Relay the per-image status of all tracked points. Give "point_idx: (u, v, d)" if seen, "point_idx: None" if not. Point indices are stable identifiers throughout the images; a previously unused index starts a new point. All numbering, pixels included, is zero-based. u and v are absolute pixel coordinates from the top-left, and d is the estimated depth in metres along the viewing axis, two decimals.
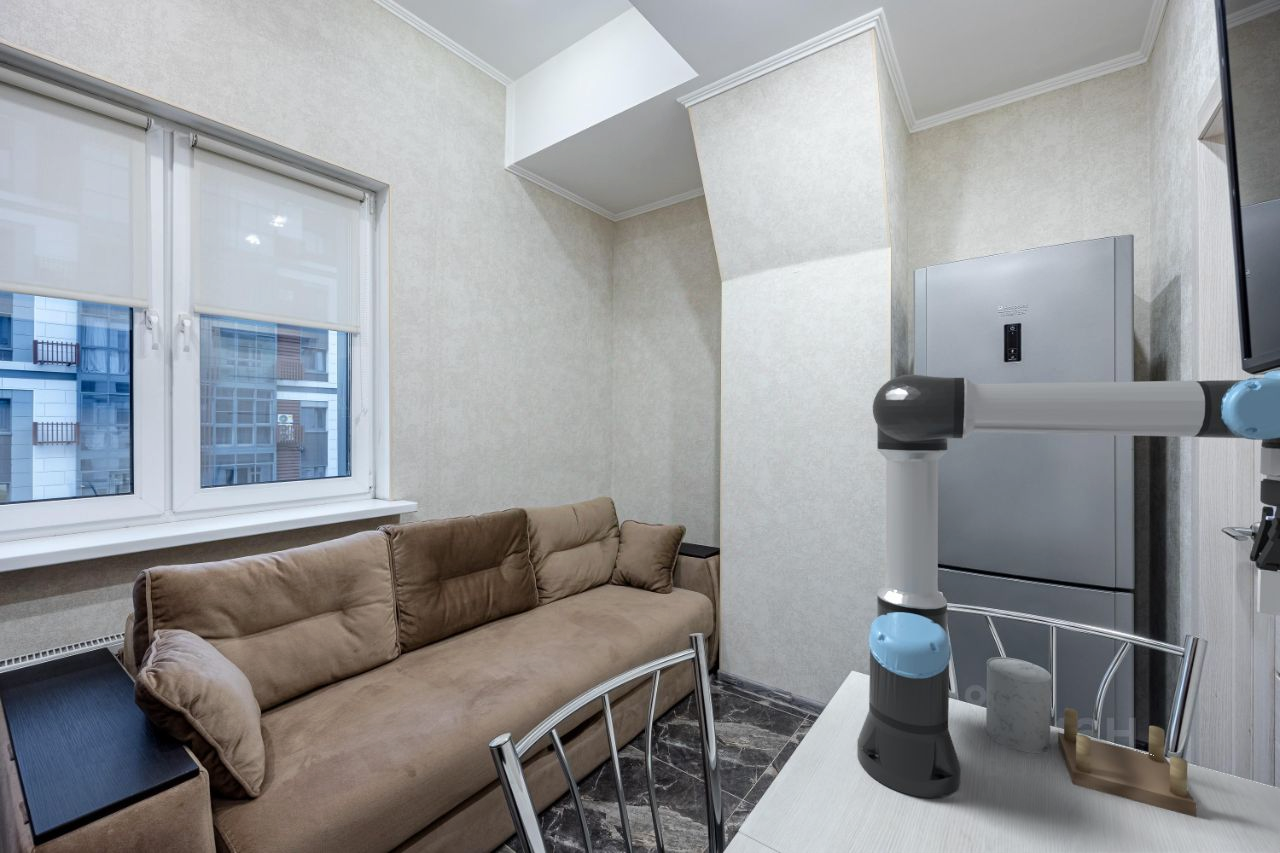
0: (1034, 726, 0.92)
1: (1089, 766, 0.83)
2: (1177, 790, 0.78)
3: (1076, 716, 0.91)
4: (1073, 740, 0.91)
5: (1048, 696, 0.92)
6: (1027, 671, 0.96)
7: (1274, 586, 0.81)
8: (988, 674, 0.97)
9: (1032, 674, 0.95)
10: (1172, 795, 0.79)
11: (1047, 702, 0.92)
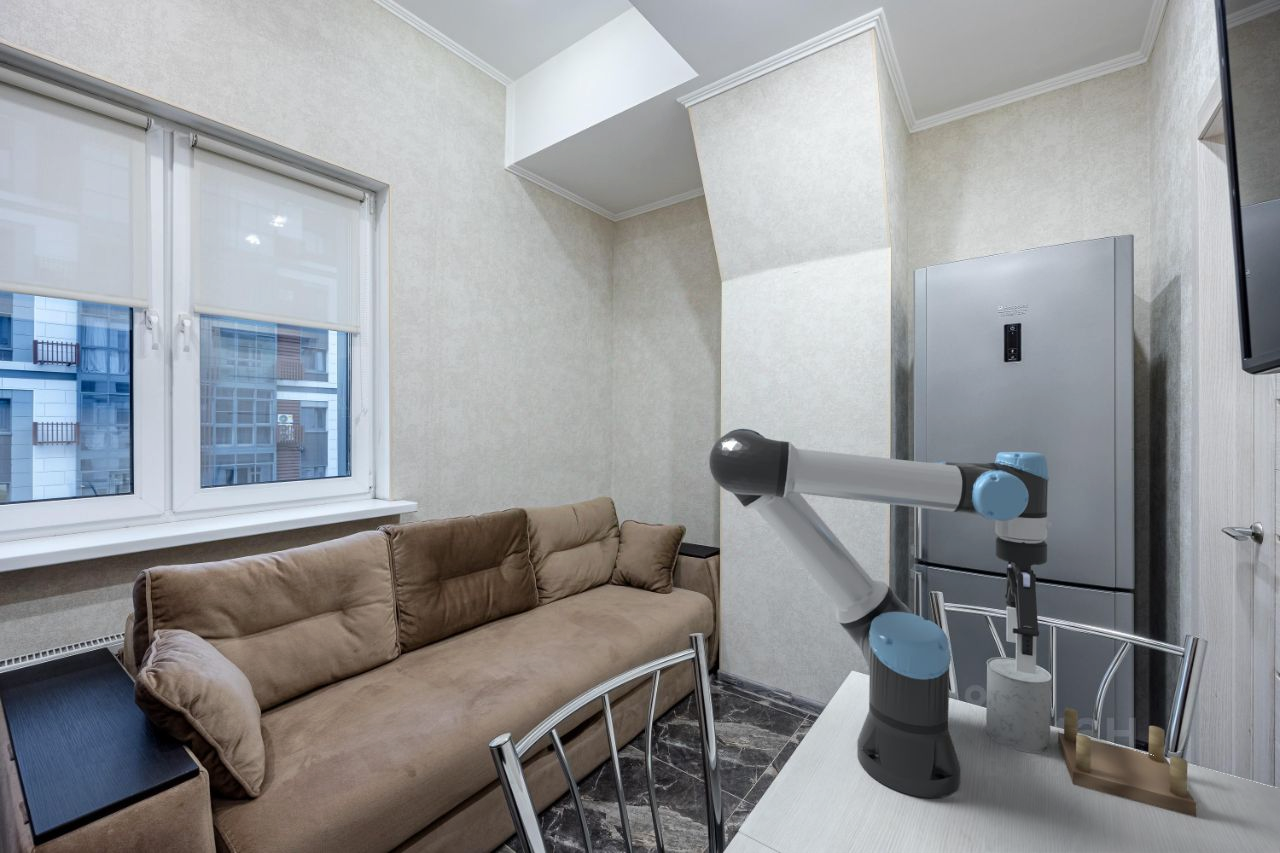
0: (1035, 726, 0.92)
1: (1089, 766, 0.83)
2: (1177, 790, 0.78)
3: (1076, 716, 0.91)
4: (1073, 740, 0.91)
5: (1048, 696, 0.92)
6: None
7: (1016, 620, 1.01)
8: (988, 674, 0.97)
9: (1032, 674, 0.94)
10: (1172, 795, 0.79)
11: (1047, 702, 0.92)
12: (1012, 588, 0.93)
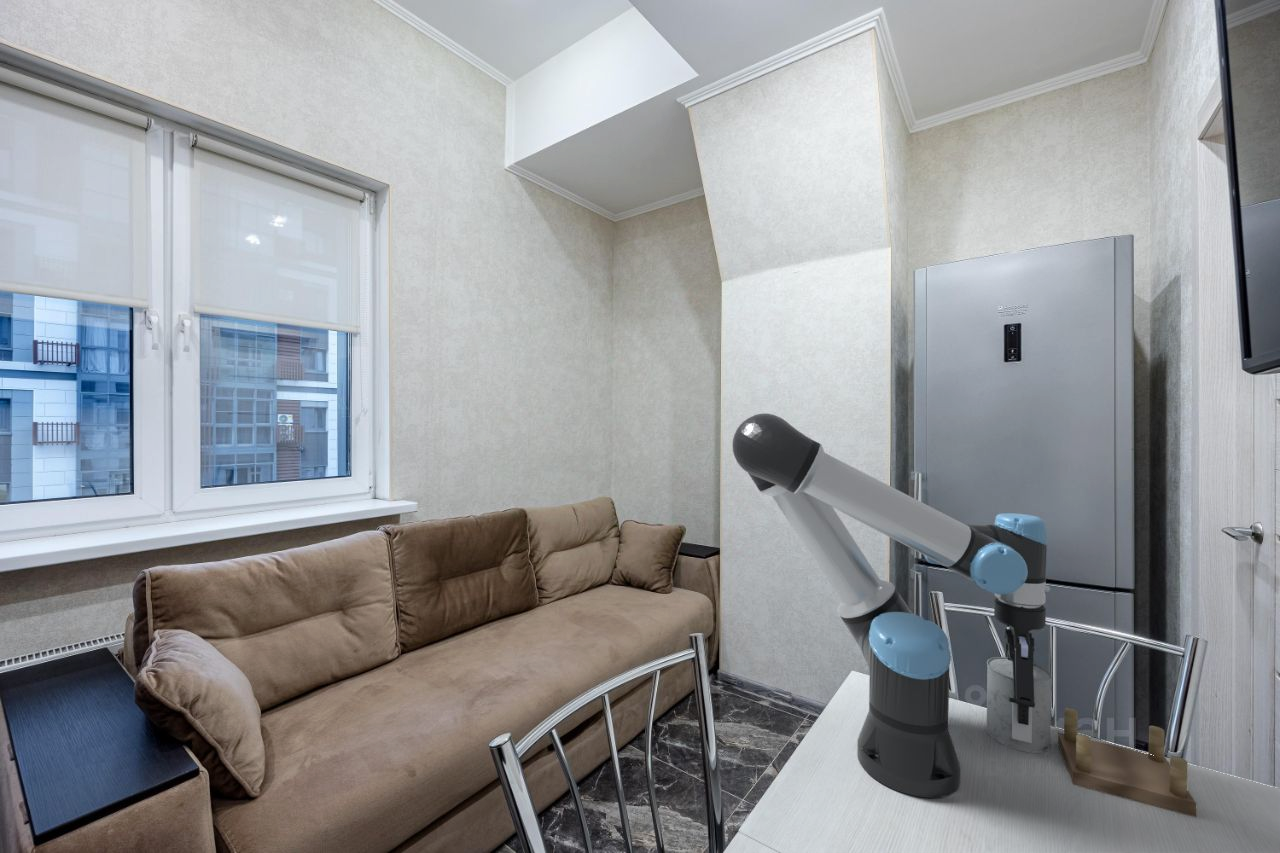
0: (1035, 726, 0.92)
1: (1089, 766, 0.83)
2: (1177, 790, 0.78)
3: (1076, 716, 0.91)
4: (1073, 740, 0.91)
5: (1048, 696, 0.92)
6: None
7: None
8: (988, 674, 0.97)
9: None
10: (1172, 795, 0.79)
11: (1048, 702, 0.92)
12: (1010, 653, 0.94)
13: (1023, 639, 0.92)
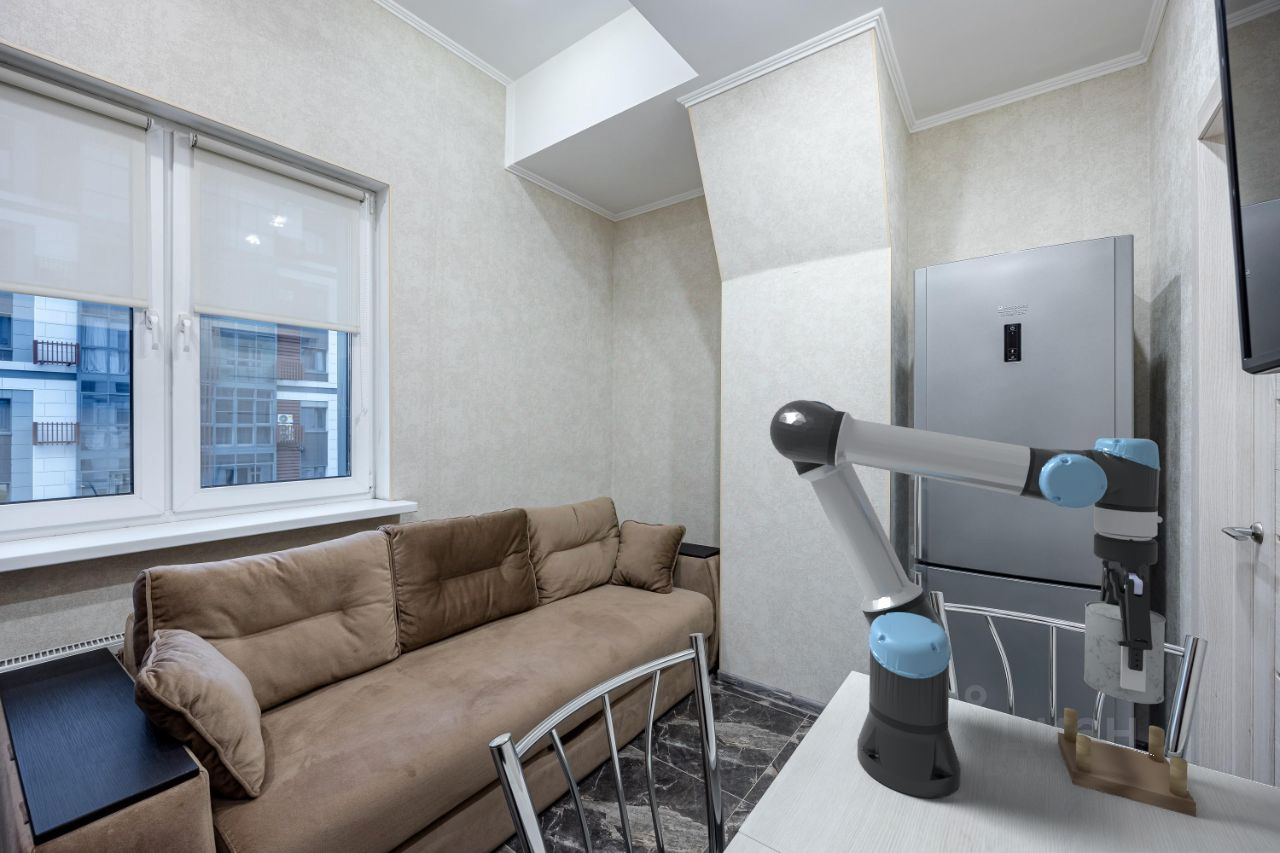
0: (1148, 673, 0.81)
1: (1089, 766, 0.83)
2: (1177, 790, 0.78)
3: (1076, 716, 0.91)
4: (1073, 740, 0.91)
5: (1163, 640, 0.81)
6: None
7: None
8: (1088, 618, 0.87)
9: None
10: (1172, 795, 0.79)
11: (1162, 646, 0.81)
12: (1116, 593, 0.83)
13: (1133, 575, 0.81)
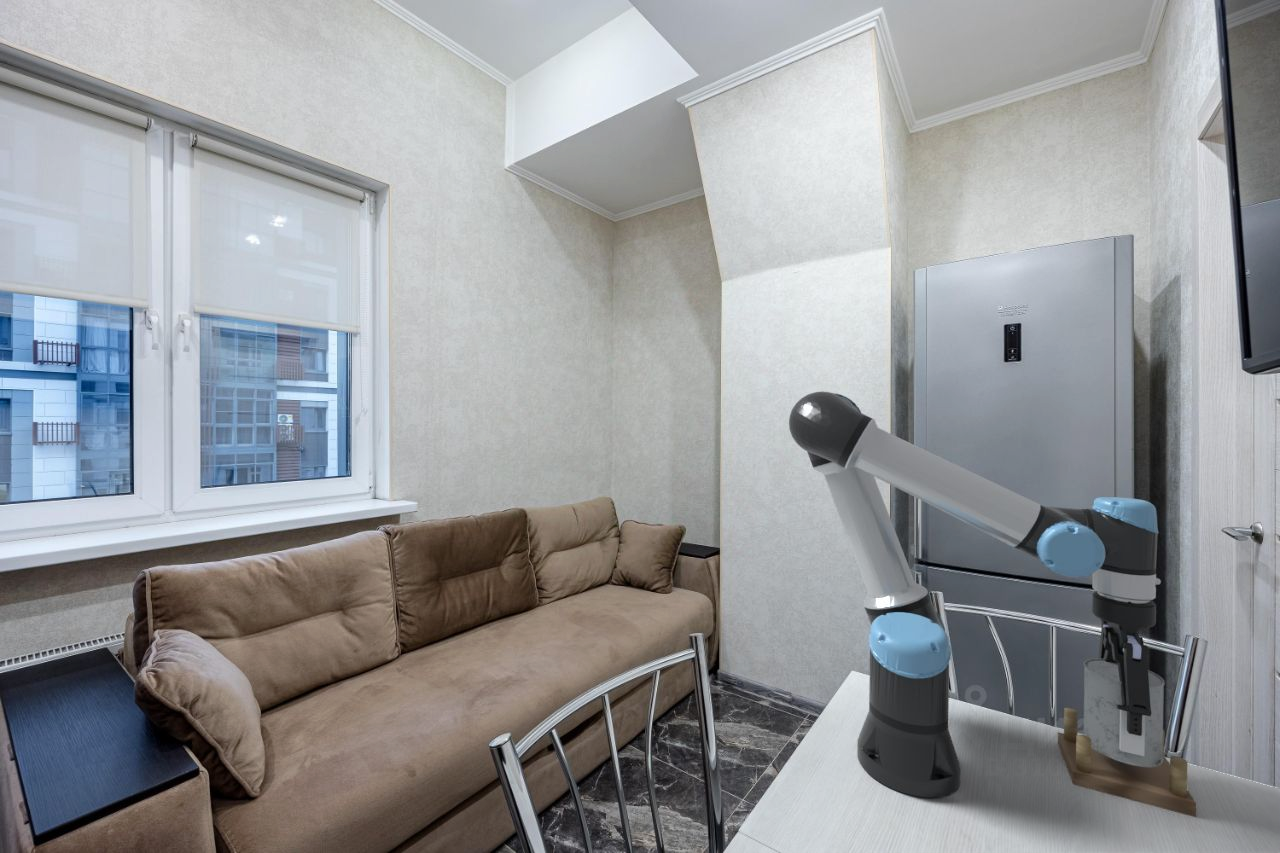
0: (1147, 736, 0.81)
1: (1089, 766, 0.83)
2: (1177, 790, 0.78)
3: (1076, 716, 0.91)
4: (1073, 740, 0.91)
5: (1162, 703, 0.81)
6: None
7: None
8: (1087, 678, 0.87)
9: None
10: (1172, 795, 0.79)
11: (1161, 710, 0.81)
12: (1115, 655, 0.83)
13: (1132, 638, 0.82)
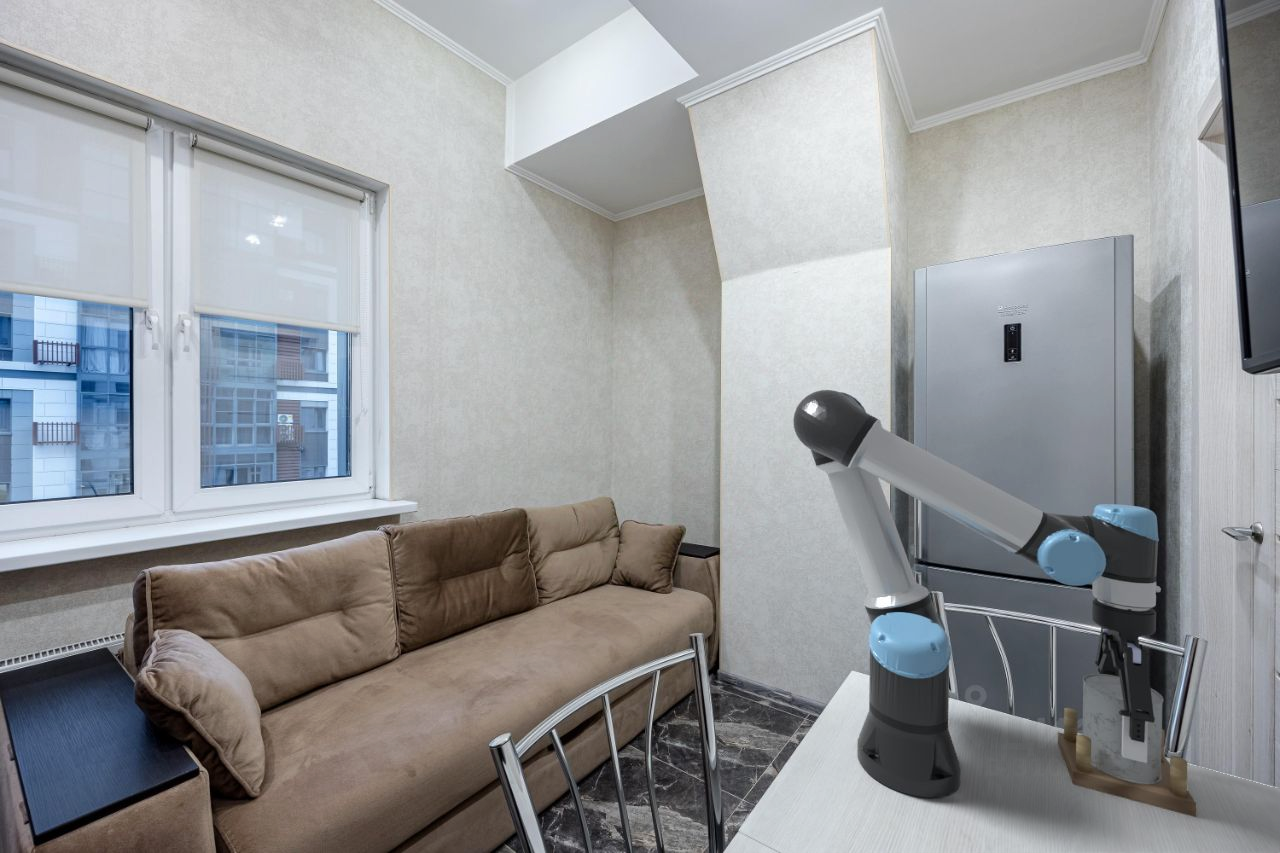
0: None
1: (1089, 766, 0.83)
2: (1177, 790, 0.78)
3: (1076, 716, 0.91)
4: (1073, 740, 0.91)
5: (1160, 720, 0.81)
6: None
7: None
8: (1086, 694, 0.87)
9: None
10: (1172, 795, 0.79)
11: (1160, 727, 0.81)
12: (1115, 661, 0.83)
13: (1132, 645, 0.82)
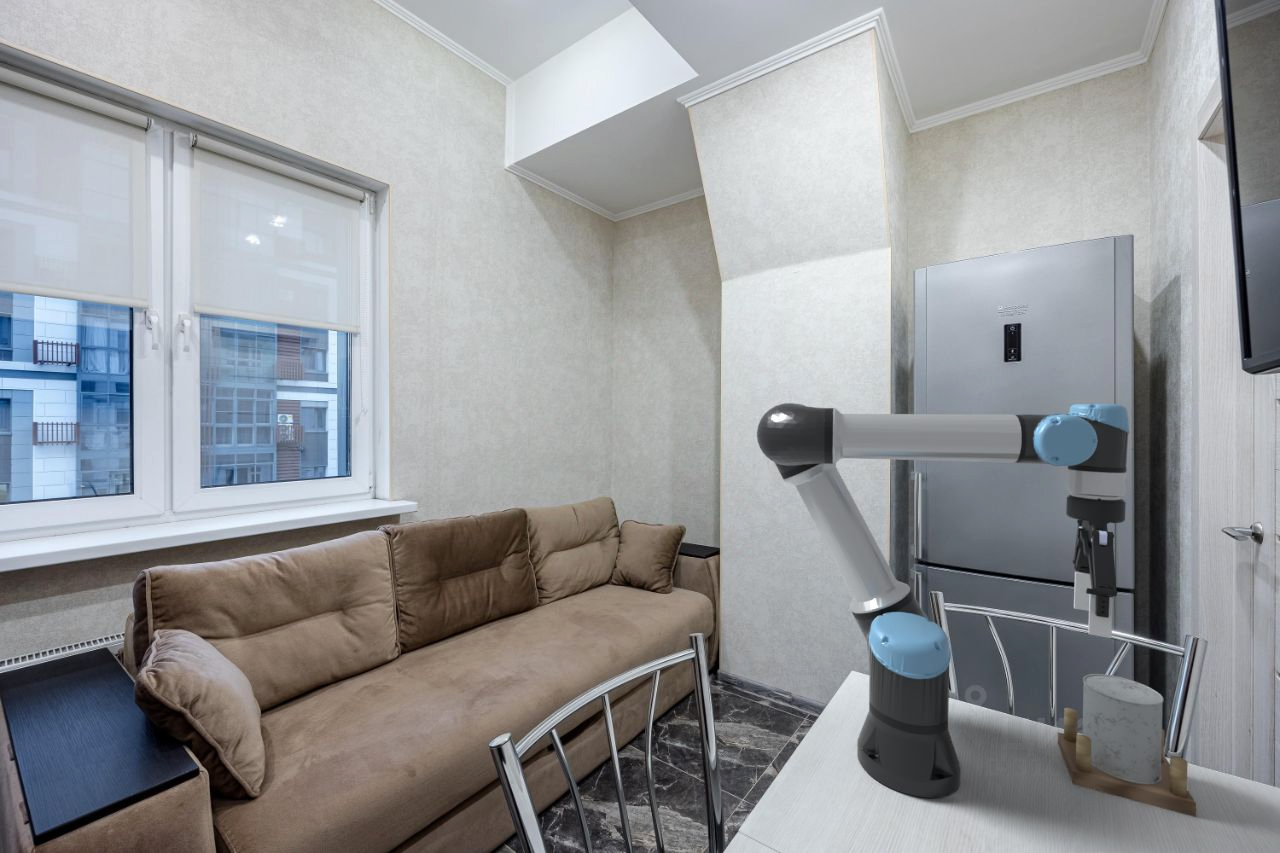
0: (1146, 754, 0.81)
1: (1089, 766, 0.83)
2: (1177, 790, 0.78)
3: (1076, 716, 0.91)
4: (1073, 740, 0.91)
5: (1160, 720, 0.81)
6: (1132, 690, 0.85)
7: (1086, 586, 0.95)
8: (1086, 694, 0.87)
9: (1139, 694, 0.84)
10: (1172, 795, 0.79)
11: (1160, 727, 0.81)
12: (1085, 548, 0.88)
13: (1100, 531, 0.86)
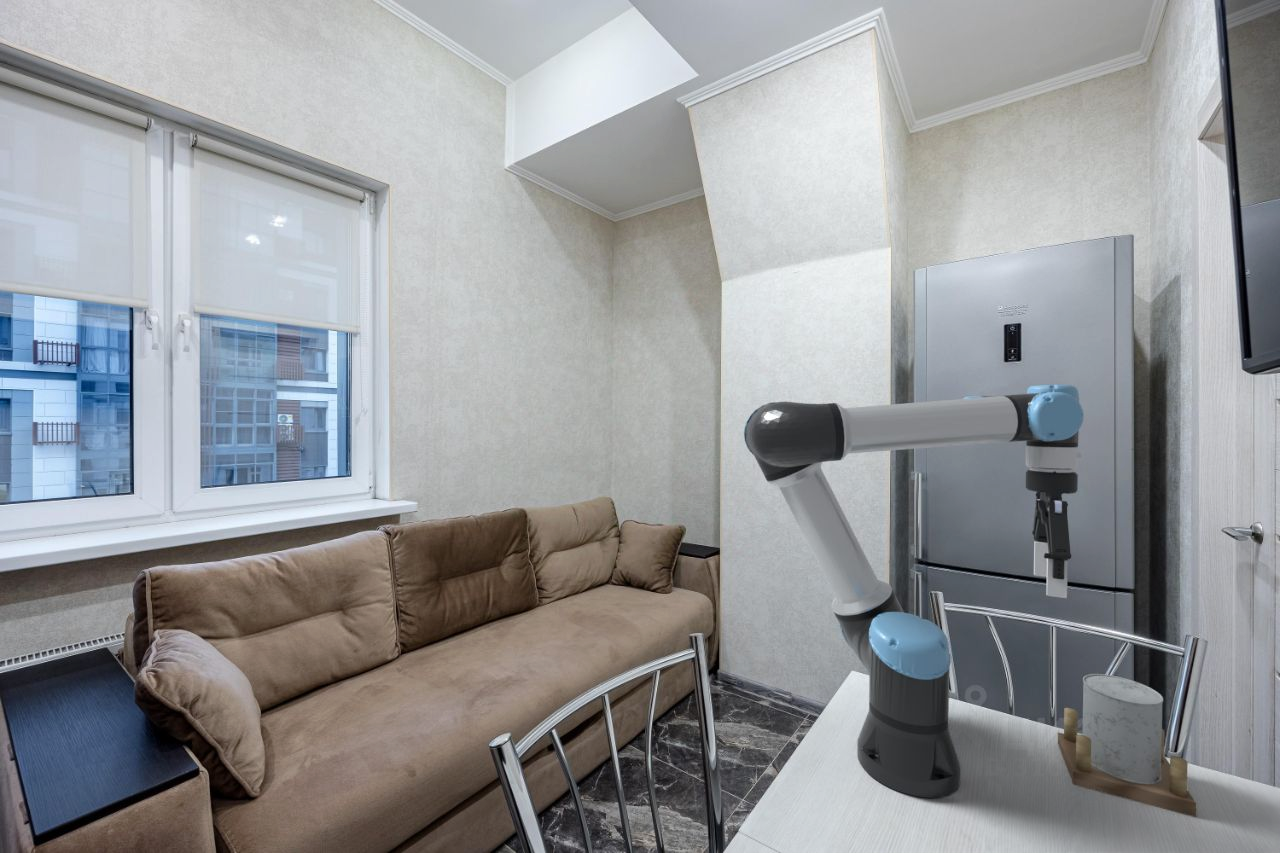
0: (1146, 754, 0.81)
1: (1089, 766, 0.83)
2: (1177, 790, 0.78)
3: (1076, 716, 0.91)
4: (1073, 740, 0.91)
5: (1160, 720, 0.81)
6: (1132, 690, 0.85)
7: (1044, 554, 1.03)
8: (1086, 694, 0.87)
9: (1139, 694, 0.84)
10: (1172, 795, 0.79)
11: (1160, 727, 0.81)
12: (1043, 517, 0.95)
13: (1056, 501, 0.94)
